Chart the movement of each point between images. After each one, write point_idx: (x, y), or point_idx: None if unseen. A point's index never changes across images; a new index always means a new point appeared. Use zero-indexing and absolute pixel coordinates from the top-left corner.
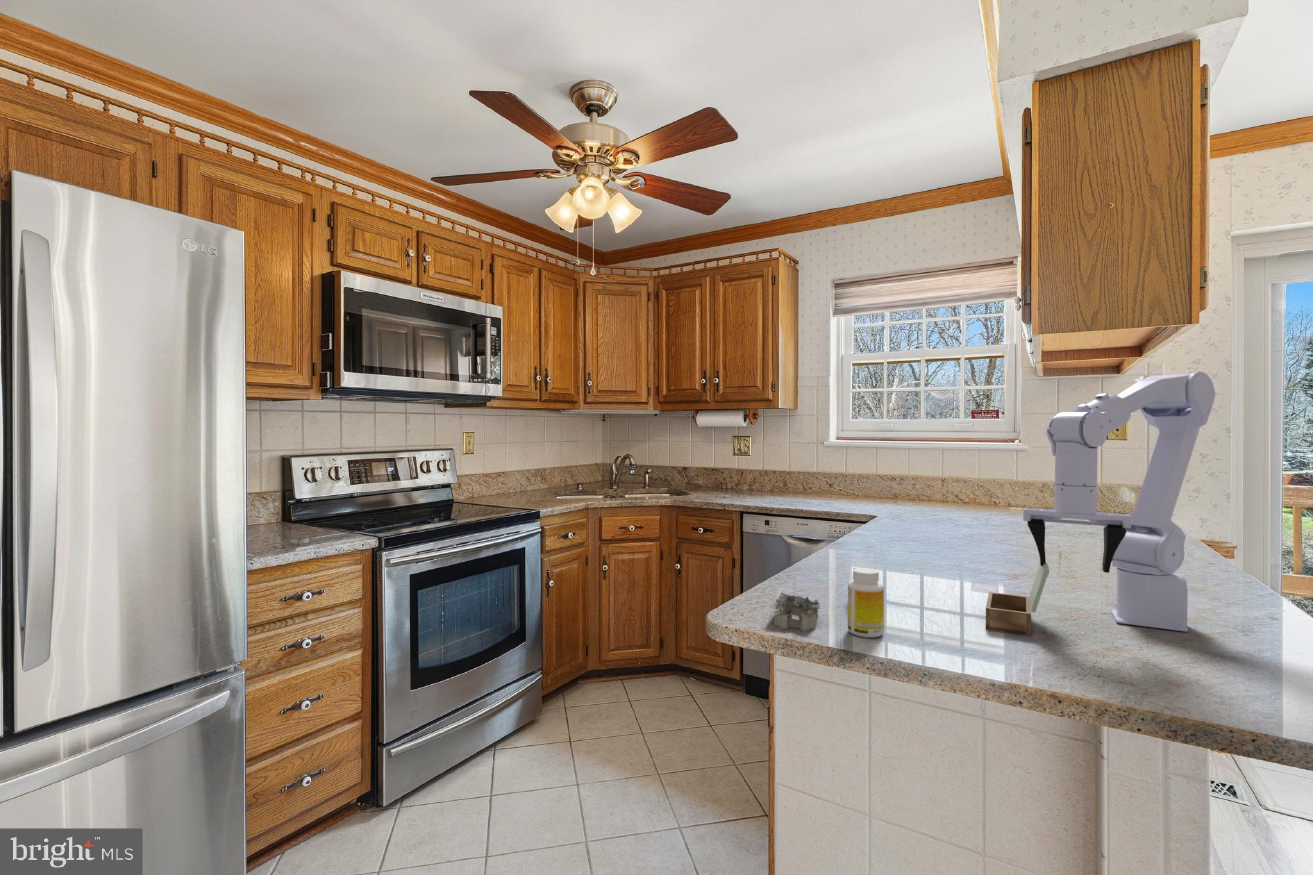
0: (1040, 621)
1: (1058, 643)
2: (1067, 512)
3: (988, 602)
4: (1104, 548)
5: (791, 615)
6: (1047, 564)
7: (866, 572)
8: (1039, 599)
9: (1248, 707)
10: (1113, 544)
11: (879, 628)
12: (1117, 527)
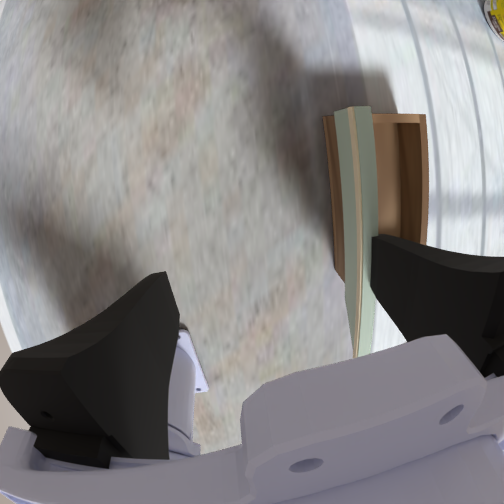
0: (314, 251)
1: (267, 98)
2: (464, 452)
3: (426, 172)
4: (161, 375)
5: None
6: (364, 245)
7: None
8: (338, 110)
9: (22, 7)
10: (87, 331)
11: (490, 2)
12: (56, 437)
